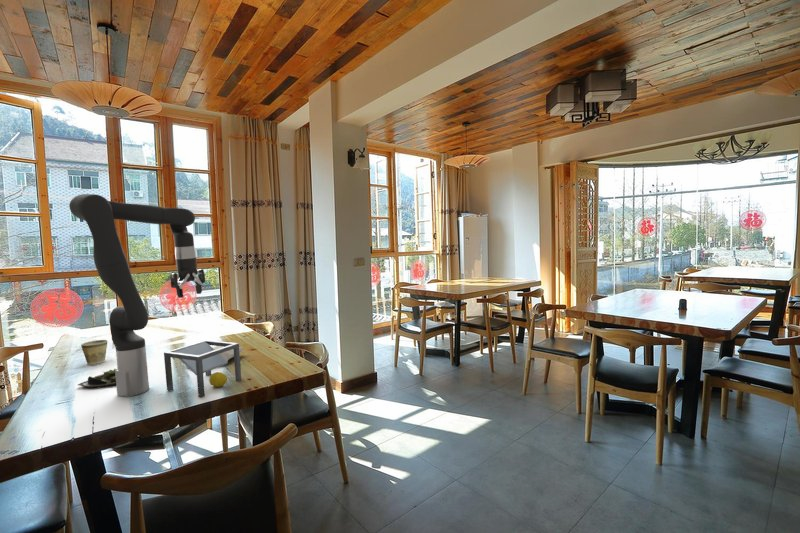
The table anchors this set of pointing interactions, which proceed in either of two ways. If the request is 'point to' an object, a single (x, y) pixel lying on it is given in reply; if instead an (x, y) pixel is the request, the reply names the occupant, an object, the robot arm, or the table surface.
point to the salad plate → (101, 380)
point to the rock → (227, 352)
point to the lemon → (218, 379)
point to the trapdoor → (207, 363)
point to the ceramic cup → (95, 351)
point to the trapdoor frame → (199, 365)
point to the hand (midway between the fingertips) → (190, 295)
